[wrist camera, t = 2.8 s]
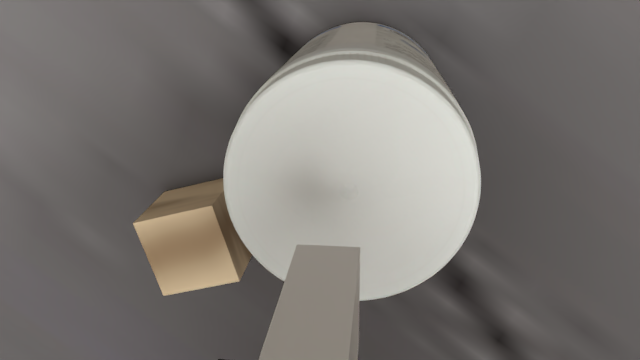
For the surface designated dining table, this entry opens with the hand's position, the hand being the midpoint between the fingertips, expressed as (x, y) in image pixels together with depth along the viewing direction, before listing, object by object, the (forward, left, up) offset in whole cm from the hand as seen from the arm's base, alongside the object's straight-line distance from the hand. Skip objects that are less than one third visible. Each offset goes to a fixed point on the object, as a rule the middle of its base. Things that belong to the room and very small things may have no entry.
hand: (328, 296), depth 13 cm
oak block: (-8, +10, -22) cm, 25 cm away
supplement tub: (0, 0, -22) cm, 22 cm away
